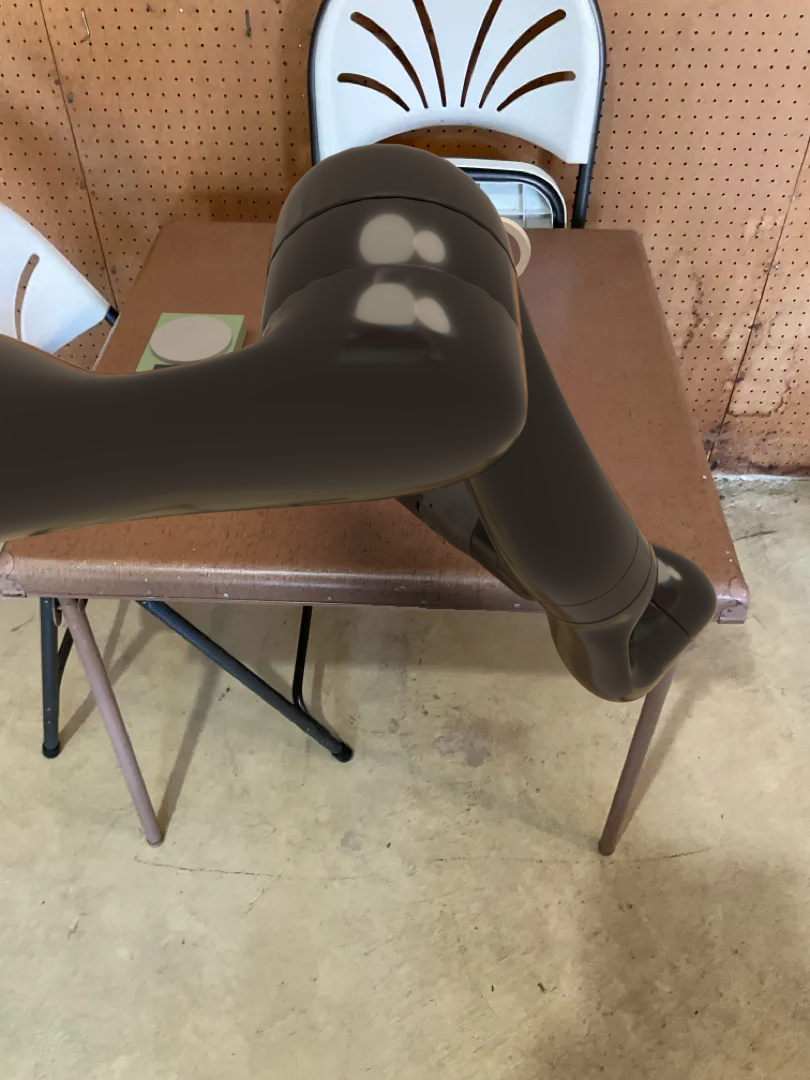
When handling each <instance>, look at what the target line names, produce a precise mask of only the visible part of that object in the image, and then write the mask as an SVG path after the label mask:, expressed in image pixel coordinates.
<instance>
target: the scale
mask: <svg viewBox="0 0 810 1080" xmlns="http://www.w3.org/2000/svg"><path fill="white" fill-rule="evenodd" d="M247 332H248V327H247V321H246V315H244V314H220V313H219V314H218V313H217V314H216V313H215V314H213V313H186V312H185V313H183V312H181V313H180V312H179V313H177V312H162V313H161V314H160V317H159V318H158V321H157V323H156V325H155V327H154V330H153V332H152V334H151V336H150V339H149V341H148V343H147V344H146V347H145V348H144V350H143V351H144V352H143V354H142V356H141V358H140V360H139V362H138V365H137V366H136V369H135V372H141V371H147V370H154V369H160V368H166V367H172V366H178V365H184V364H189V363H193V362H197V361H201V360H206V359H210V358H213V357H217V356H220V355H223V354H226V353H230V352H233V351H236V350H238V349H240V348H243V345H244V342H245V339H246V336H247V334H248V333H247ZM135 372H134V373H135Z"/></svg>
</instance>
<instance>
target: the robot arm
mask: <svg viewBox="0 0 810 1080" xmlns="http://www.w3.org/2000/svg"><path fill="white" fill-rule="evenodd" d="M500 217H501V216H500V214H499V212H498V210H497V208H496V206H495V204H494V203H493V201H492V199H491V198H490V197H489V195H488V194H487V193H486V192H485V190H483V188H481V186H479V184H478V183H477V182H476V181H475V180H474V179H473V178H472V176H470V175H469V174H467V173H466V172H465V171H464V170H462V169H461V168H459V167H458V166H457V165H455V164H453V162H451V161H450V160H448V159H446V158H444V157H441V156H439V155H437V154H435V153H432V152H430V151H428V150H426V149H423V148H418V147H414V146H409V145H406V144H401V143H400V144H399V143H371V144H365V145H359V146H353V147H349V148H346V149H344V150H342V151H339V152H336V153H334V154H331V155H329V156H327V157H326V158H323V159H321V160H320V161H318V162H317V163H316V164H314V165H313V166H312V167H311V168H310V169H308V170H307V171H306V173H304V175H303V176H302V177H301V178H300V179H299V180H298V181H297V182H296V183H295V184H294V186H292V188H291V189H290V192H289V194H288V195H287V197H286V198H285V201H284V202H283V204H282V205H281V209H280V210H279V215H278V216H277V221H276V225H275V228H274V232H273V234H272V238H271V242H270V247H269V252H268V257H267V263H266V276H265V277H266V278H265V285H264V291H263V292H264V293H263V299H262V301H263V302H262V311H261V319H260V320H261V321H260V331H259V332H260V333H259V339H257V340H256V341H254V342H252V343H250V344H247V345H245V346H242V348H240V349H238V350H236V351H233V352H230V353H226V354H223V355H220V356H217V357H213V358H210V359H206V360H201V361H197V362H193V363H189V364H184V365H178V366H172V367H166V368H160V369H154V370H147V371H141V372H124V373H123V372H121V373H113V372H112V373H111V372H102V371H98V370H93V369H90V368H87V367H84V366H81V365H79V364H76V363H74V362H71V361H70V360H67V359H65V358H63V357H60V356H58V355H56V354H54V353H51V352H49V351H47V350H44V349H42V348H40V347H38V346H36V345H33V344H31V343H28V342H25V341H23V340H20V339H18V338H16V337H13V336H10V335H7V334H4V333H1V332H0V544H1V543H5V542H10V541H14V540H19V539H25V538H26V539H27V538H30V537H36V536H41V535H50V534H55V533H60V532H61V533H62V532H68V531H73V530H74V531H75V530H81V529H87V528H92V527H93V528H94V527H100V526H106V525H112V524H119V523H127V522H134V521H143V520H150V519H151V520H152V519H159V518H168V517H176V516H177V517H178V516H190V515H201V514H214V513H225V512H226V513H227V512H240V511H243V512H244V511H256V510H271V509H273V510H274V509H286V508H287V509H288V508H302V507H317V506H331V505H342V504H343V505H344V504H356V503H368V502H375V501H385V500H391V499H394V500H396V501H397V502H398V503H399V504H400V505H402V506H403V507H404V508H405V509H407V511H409V512H410V513H411V514H413V515H414V516H415V517H416V518H417V519H419V521H421V522H422V523H423V524H425V525H426V526H427V527H428V528H429V529H431V531H433V532H434V533H435V534H437V535H438V536H439V537H440V538H442V539H443V540H444V541H445V542H447V544H449V545H450V546H452V547H453V548H455V549H456V550H458V551H460V552H462V553H463V554H465V555H467V556H468V557H470V558H471V559H472V560H474V561H475V563H477V564H478V565H479V566H481V567H482V568H484V569H485V570H486V571H487V572H488V573H489V574H491V575H492V577H494V578H495V579H497V580H498V581H499V582H501V583H502V584H503V586H505V587H507V589H508V590H510V591H511V592H513V593H514V594H515V595H517V596H519V597H520V598H522V599H523V600H527V601H530V602H537V603H538V604H539V605H540V606H541V607H542V608H543V609H544V612H545V615H546V619H547V623H548V626H549V627H548V628H549V631H550V636H551V638H552V642H553V644H554V646H555V650H556V652H557V654H558V656H559V658H560V659H561V661H562V663H563V665H564V666H565V669H567V671H568V672H569V673H570V675H571V676H572V677H573V678H574V680H576V682H578V684H579V685H580V686H582V687H583V688H584V689H585V690H587V691H588V692H589V693H591V694H592V695H594V696H596V697H598V698H599V699H602V700H604V701H607V702H611V703H620V704H621V703H622V704H624V703H630V702H633V701H637V700H639V699H642V698H643V697H644V696H646V695H648V694H649V693H650V692H651V691H652V690H654V688H656V686H657V685H658V684H659V683H660V682H661V680H662V679H663V678H665V676H666V674H667V673H668V672H669V671H670V670H671V668H672V667H673V666H674V665H675V664H676V663H677V662H678V660H680V658H681V657H682V656H683V655H684V654H685V652H686V651H687V650H688V649H689V648H690V647H691V646H692V643H693V642H695V641H696V640H697V639H698V638H699V636H701V634H702V633H703V632H704V631H705V629H706V628H707V627H708V625H710V623H711V622H712V620H713V619H714V617H715V615H716V613H717V609H718V595H717V591H716V589H715V586H714V584H713V582H712V580H711V578H710V577H709V575H708V574H707V573H706V572H705V570H704V569H703V568H702V567H701V566H700V565H699V564H698V563H696V562H695V561H694V560H693V559H691V558H689V557H688V556H686V555H685V554H683V553H682V552H679V551H677V550H675V549H673V548H670V547H669V546H665V545H663V544H660V543H658V542H655V541H651V540H649V538H648V537H647V535H646V533H645V532H644V530H643V528H642V527H641V526H640V524H639V522H638V521H637V519H636V517H635V516H634V515H633V513H632V511H631V510H630V508H629V506H628V505H627V504H626V502H625V501H624V499H623V497H622V496H621V494H620V493H619V491H618V489H617V488H616V487H615V484H613V482H612V480H611V479H610V477H609V475H608V474H607V472H606V470H605V468H604V467H603V465H602V464H601V462H600V460H599V458H598V456H597V455H596V453H595V452H594V451H595V450H593V448H592V445H591V444H590V442H589V440H588V439H587V436H586V434H585V433H584V431H583V430H582V429H583V428H582V427H581V425H580V424H579V422H578V420H577V418H576V416H575V414H574V412H573V410H572V407H571V406H570V404H569V402H568V400H567V398H566V396H565V394H564V392H563V390H562V388H561V385H560V384H559V381H558V379H557V377H556V375H555V372H554V370H553V368H552V365H551V363H550V361H549V358H548V355H547V354H546V351H545V349H544V346H543V344H542V342H541V338H540V337H539V334H538V332H537V329H536V326H535V324H534V321H533V319H532V315H531V313H530V309H529V306H528V303H527V301H526V298H525V295H524V290H523V287H522V285H521V282H520V278H519V277H518V275H517V271H516V267H515V266H516V261H515V255H514V254H515V253H514V251H513V248H512V245H511V241H510V238H509V235H508V232H507V231H506V230H505V227H504V225H503V222H502V220H501V218H500Z"/></svg>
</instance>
